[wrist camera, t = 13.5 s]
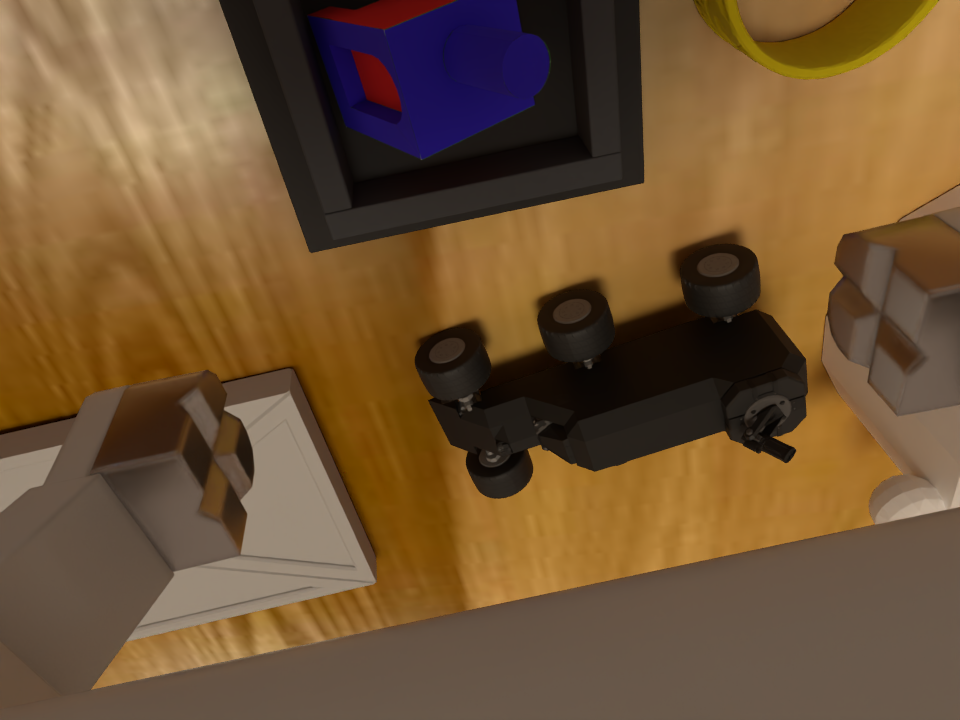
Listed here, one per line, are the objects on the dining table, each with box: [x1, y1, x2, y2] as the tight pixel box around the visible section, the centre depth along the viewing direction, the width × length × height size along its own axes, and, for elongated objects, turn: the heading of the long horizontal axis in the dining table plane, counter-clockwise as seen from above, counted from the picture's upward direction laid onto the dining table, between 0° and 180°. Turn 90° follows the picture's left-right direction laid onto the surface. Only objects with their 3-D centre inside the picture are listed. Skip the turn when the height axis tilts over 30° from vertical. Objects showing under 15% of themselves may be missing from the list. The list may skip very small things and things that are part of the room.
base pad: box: [219, 0, 644, 253], centre depth 23 cm, size 13×13×3 cm
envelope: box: [0, 368, 377, 642], centre depth 35 cm, size 24×2×14 cm
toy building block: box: [307, 0, 551, 160], centre depth 21 cm, size 4×4×8 cm
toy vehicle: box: [415, 244, 808, 499], centre depth 30 cm, size 8×15×9 cm, turn 108°
